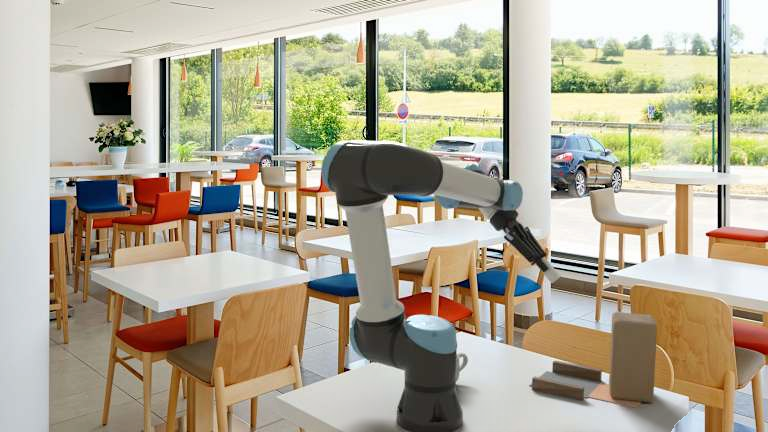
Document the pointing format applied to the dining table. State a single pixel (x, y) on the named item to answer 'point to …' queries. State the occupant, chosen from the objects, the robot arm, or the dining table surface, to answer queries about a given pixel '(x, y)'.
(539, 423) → the dining table surface
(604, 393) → the tile
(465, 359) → the teacup
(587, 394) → the grey square panel
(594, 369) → the lane rails
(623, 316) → the wooden block
